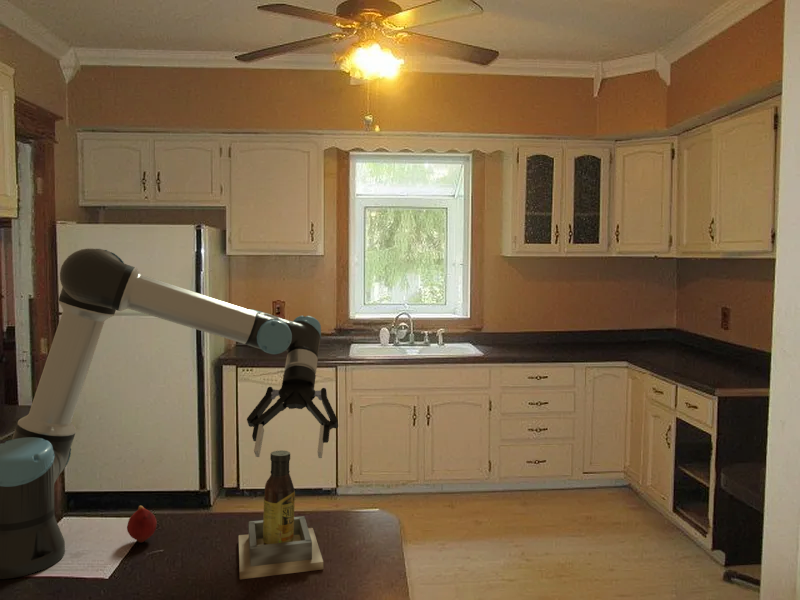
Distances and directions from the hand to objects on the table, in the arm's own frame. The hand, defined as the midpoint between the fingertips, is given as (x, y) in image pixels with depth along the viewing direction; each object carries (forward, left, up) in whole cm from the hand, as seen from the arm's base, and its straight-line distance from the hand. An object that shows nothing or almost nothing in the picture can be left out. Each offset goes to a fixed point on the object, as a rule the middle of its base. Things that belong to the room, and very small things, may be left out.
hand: (288, 454), depth 130 cm
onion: (-30, +7, -19) cm, 37 cm away
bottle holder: (-2, -6, -19) cm, 20 cm away
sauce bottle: (-2, -6, -18) cm, 19 cm away
